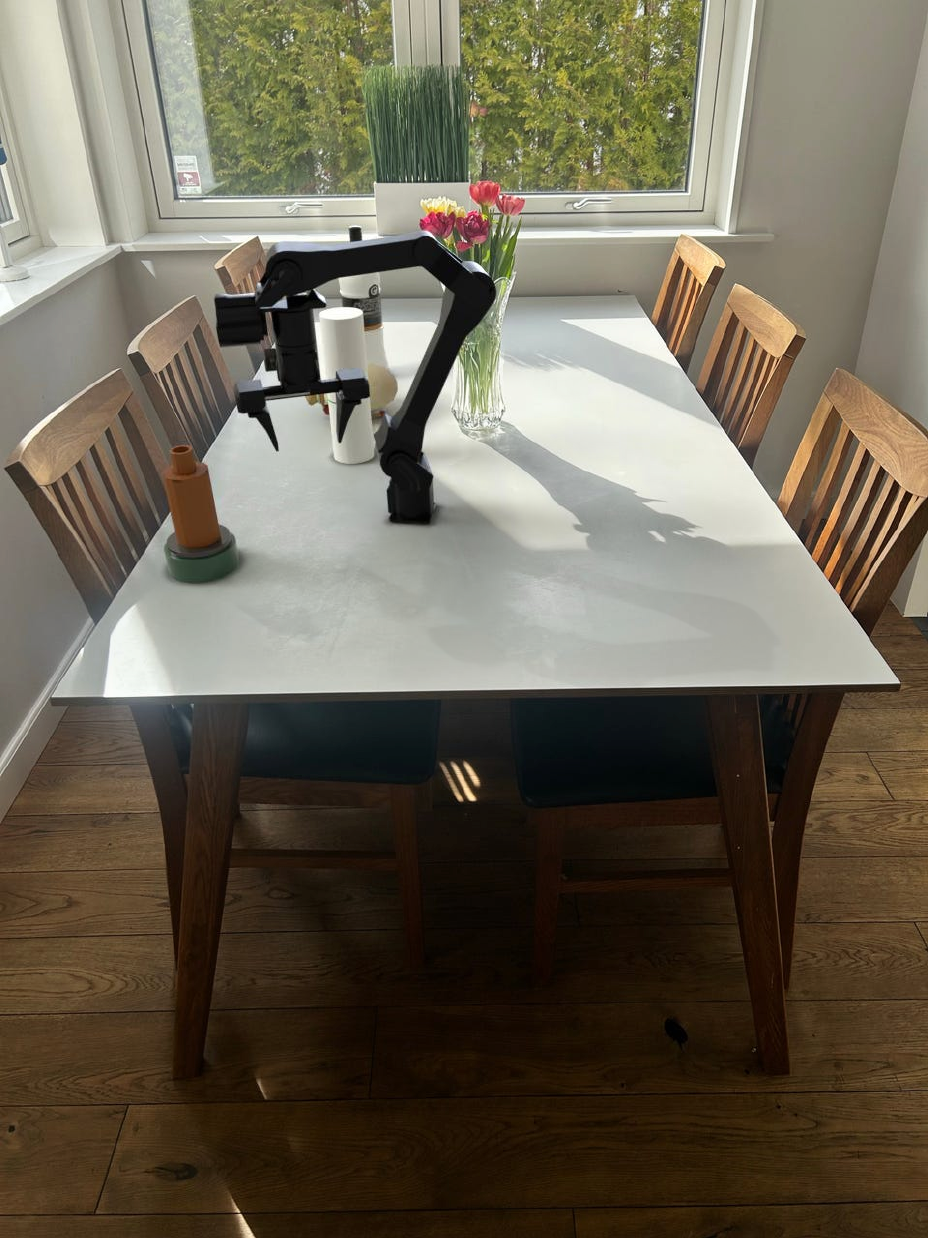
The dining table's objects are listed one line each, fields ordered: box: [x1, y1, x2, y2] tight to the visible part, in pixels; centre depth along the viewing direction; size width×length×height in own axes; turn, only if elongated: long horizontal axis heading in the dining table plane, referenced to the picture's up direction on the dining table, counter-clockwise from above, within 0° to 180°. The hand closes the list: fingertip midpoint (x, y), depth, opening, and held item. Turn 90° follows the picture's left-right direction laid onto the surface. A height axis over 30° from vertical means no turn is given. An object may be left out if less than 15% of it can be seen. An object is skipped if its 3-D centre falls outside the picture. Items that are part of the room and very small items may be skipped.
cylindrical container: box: [318, 306, 375, 465], centre depth 161 cm, size 7×7×25 cm
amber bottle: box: [161, 444, 220, 548], centre depth 131 cm, size 6×6×14 cm
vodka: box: [338, 225, 389, 370], centre depth 195 cm, size 9×9×30 cm
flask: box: [304, 364, 399, 419], centre depth 182 cm, size 9×16×18 cm
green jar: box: [163, 524, 240, 584], centre depth 136 cm, size 10×10×4 cm
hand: (308, 446), depth 139 cm, fingers open, 9 cm apart
